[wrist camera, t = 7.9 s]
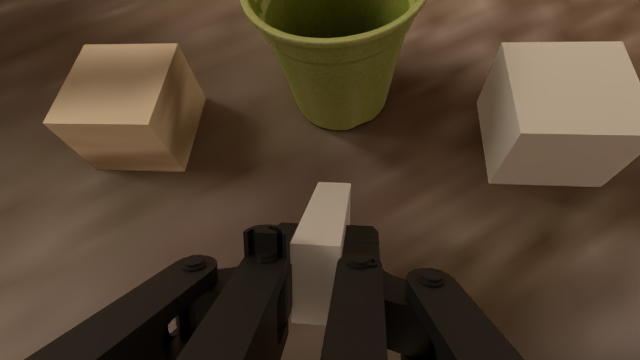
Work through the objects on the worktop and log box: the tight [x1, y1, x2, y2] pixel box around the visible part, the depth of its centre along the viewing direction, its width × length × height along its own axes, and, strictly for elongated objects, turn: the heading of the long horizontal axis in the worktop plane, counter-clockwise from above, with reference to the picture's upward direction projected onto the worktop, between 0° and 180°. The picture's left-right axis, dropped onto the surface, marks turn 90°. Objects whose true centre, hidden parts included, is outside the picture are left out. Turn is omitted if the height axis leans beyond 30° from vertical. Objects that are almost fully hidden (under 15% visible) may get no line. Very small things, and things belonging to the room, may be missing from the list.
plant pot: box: [240, 0, 427, 130], centre depth 22 cm, size 9×9×9 cm
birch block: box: [43, 43, 206, 172], centre depth 24 cm, size 6×6×5 cm
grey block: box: [477, 42, 640, 187], centre depth 21 cm, size 6×6×5 cm
